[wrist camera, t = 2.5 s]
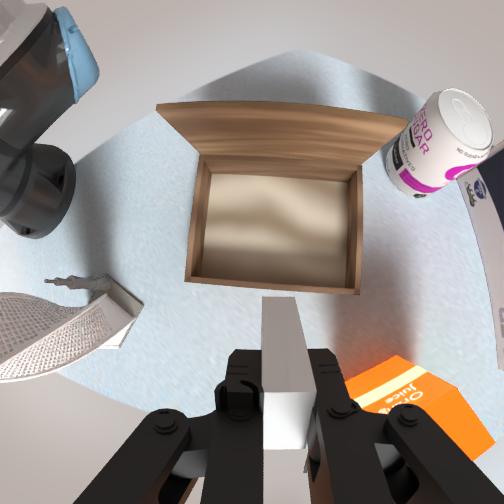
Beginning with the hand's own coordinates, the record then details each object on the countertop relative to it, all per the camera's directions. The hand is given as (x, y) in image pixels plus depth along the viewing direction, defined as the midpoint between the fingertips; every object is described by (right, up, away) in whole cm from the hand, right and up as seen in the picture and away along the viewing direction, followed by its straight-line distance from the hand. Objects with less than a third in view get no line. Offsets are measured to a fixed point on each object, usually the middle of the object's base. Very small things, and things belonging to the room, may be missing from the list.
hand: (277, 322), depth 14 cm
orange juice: (+14, -15, +19) cm, 28 cm away
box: (+2, +6, +22) cm, 22 cm away
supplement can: (+20, +14, +21) cm, 33 cm away
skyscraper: (-19, -5, +22) cm, 30 cm away
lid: (+2, +14, +17) cm, 22 cm away
